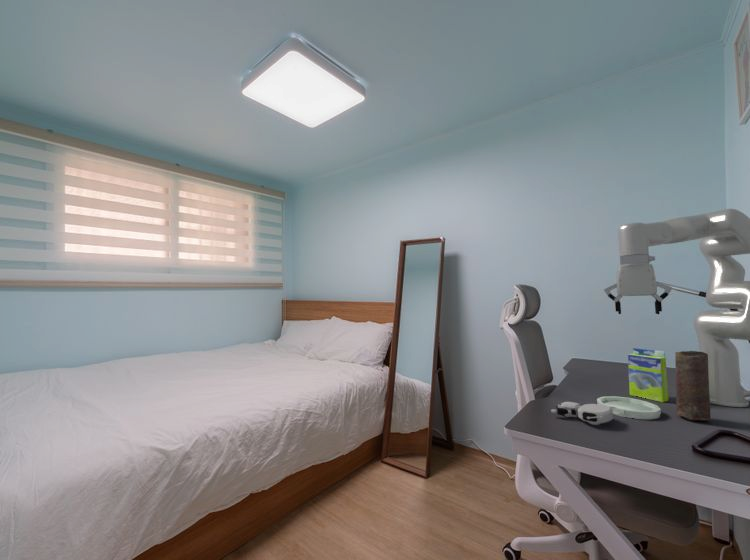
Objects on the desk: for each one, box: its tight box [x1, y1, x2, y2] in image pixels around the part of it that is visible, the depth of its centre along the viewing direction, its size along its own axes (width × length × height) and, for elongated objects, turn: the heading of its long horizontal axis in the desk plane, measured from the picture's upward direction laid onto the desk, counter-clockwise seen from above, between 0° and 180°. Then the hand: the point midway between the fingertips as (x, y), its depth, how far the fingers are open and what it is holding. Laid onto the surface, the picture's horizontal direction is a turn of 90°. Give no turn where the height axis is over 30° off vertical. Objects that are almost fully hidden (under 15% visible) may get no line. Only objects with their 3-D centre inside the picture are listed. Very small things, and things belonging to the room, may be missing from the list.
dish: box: [596, 395, 662, 421], centre depth 107 cm, size 16×16×2 cm
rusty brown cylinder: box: [674, 350, 711, 422], centre depth 99 cm, size 8×7×20 cm
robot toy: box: [550, 401, 616, 426], centre depth 100 cm, size 12×4×15 cm
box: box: [627, 347, 669, 403], centre depth 121 cm, size 10×4×17 cm, turn 28°
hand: (638, 313), depth 108 cm, fingers open, 9 cm apart
